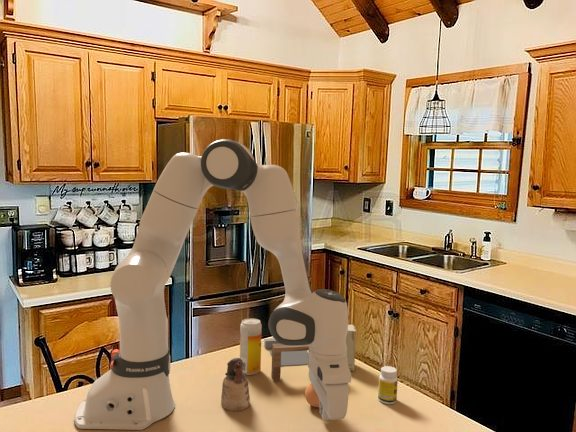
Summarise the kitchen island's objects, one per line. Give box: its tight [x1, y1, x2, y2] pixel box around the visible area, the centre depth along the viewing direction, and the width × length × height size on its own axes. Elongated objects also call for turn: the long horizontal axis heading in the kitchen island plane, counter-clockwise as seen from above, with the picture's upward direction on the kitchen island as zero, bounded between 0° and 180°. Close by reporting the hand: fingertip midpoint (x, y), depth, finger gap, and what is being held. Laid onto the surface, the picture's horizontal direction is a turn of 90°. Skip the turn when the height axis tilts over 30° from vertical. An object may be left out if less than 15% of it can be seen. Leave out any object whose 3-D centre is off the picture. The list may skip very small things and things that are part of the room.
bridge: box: [270, 344, 309, 382], centre depth 133 cm, size 3×17×10 cm, turn 102°
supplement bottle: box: [377, 365, 399, 405], centre depth 122 cm, size 5×5×8 cm
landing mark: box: [268, 349, 308, 367], centre depth 147 cm, size 12×12×1 cm
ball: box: [304, 383, 320, 408], centre depth 118 cm, size 6×6×6 cm
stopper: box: [263, 338, 281, 350], centre depth 156 cm, size 14×2×2 cm, turn 102°
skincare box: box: [346, 324, 357, 372], centre depth 141 cm, size 6×4×12 cm
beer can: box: [239, 317, 263, 376], centre depth 136 cm, size 6×6×15 cm
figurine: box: [220, 357, 251, 412], centre depth 117 cm, size 7×7×12 cm
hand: (324, 416), depth 110 cm, fingers closed
